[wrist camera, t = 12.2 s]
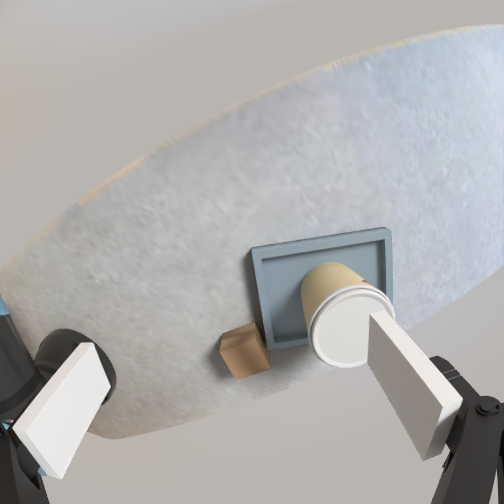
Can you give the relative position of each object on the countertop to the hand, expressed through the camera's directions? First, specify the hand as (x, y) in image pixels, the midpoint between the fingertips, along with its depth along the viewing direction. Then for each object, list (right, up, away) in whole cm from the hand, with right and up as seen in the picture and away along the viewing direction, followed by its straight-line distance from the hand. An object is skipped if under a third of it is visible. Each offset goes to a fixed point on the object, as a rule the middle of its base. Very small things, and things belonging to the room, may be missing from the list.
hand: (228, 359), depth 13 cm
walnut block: (0, -8, +30) cm, 31 cm away
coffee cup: (+11, 0, +27) cm, 29 cm away
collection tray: (+11, 0, +28) cm, 30 cm away
